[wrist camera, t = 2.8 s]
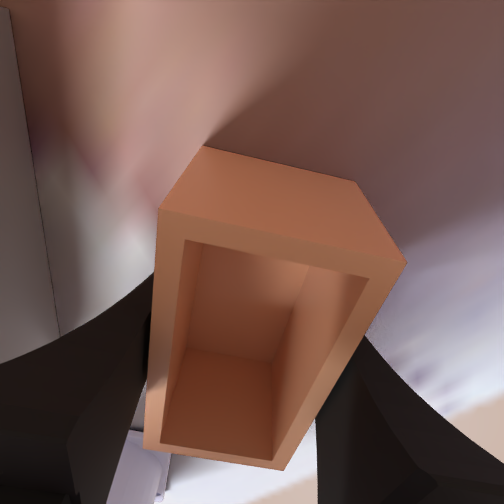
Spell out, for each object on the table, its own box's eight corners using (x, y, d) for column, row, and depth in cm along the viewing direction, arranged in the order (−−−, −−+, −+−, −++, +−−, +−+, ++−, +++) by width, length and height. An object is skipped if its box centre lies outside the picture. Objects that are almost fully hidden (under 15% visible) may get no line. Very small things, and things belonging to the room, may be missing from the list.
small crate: (279, 362, 16) (283, 470, 12) (175, 343, 16) (142, 448, 12) (355, 181, 11) (407, 262, 7) (202, 145, 11) (158, 208, 6)
